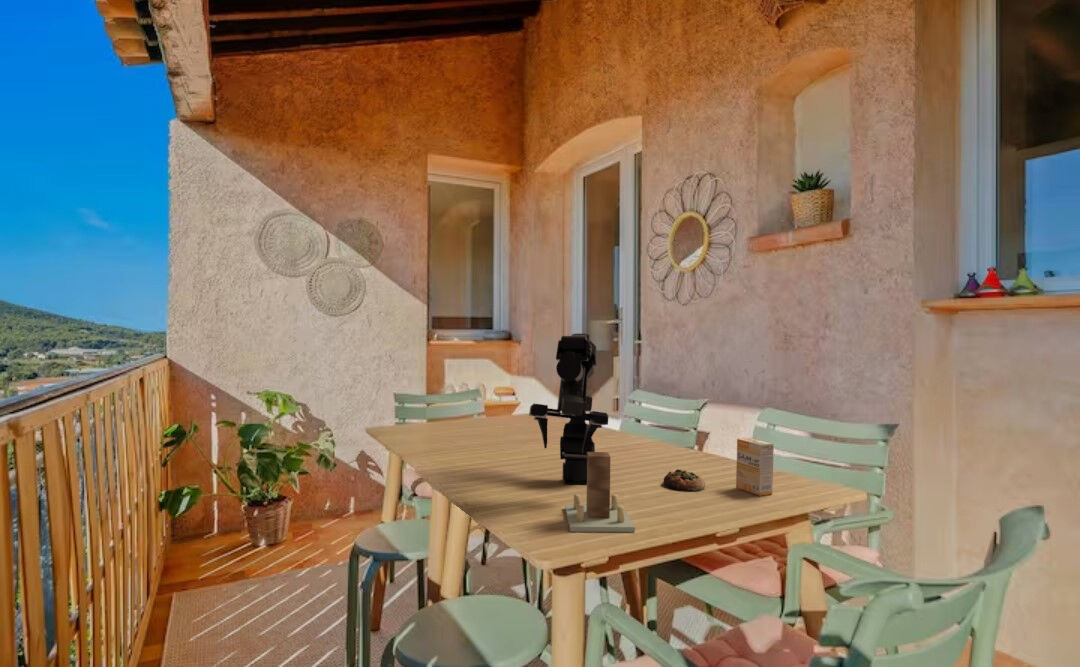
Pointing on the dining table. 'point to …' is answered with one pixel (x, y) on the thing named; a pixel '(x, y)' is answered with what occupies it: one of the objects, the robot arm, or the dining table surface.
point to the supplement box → (754, 466)
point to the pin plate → (584, 524)
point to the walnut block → (598, 485)
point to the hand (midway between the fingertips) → (564, 450)
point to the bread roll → (684, 481)
